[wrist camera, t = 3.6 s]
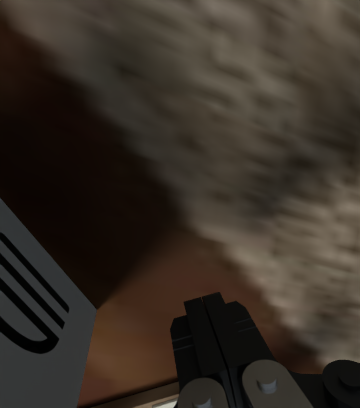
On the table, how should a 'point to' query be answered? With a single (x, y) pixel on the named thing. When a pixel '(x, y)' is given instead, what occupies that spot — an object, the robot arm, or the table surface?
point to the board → (148, 399)
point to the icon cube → (39, 324)
